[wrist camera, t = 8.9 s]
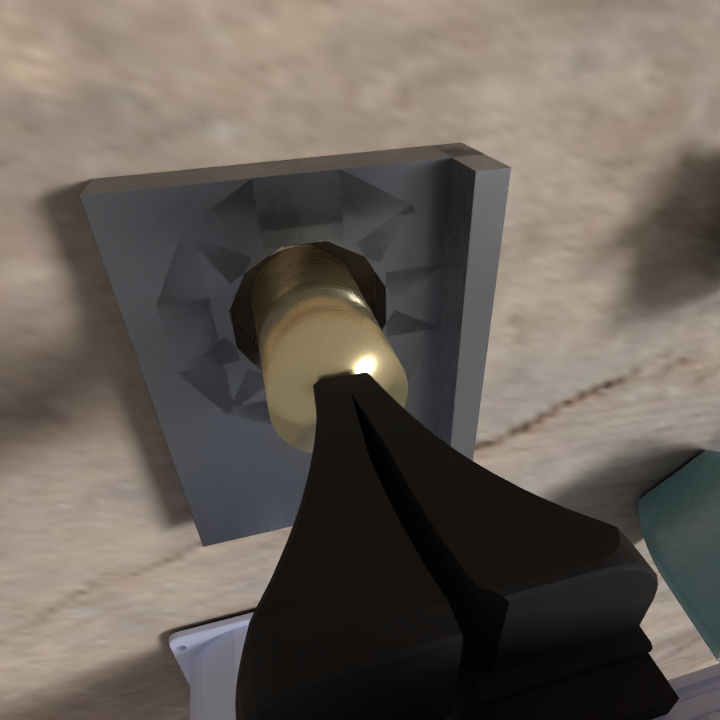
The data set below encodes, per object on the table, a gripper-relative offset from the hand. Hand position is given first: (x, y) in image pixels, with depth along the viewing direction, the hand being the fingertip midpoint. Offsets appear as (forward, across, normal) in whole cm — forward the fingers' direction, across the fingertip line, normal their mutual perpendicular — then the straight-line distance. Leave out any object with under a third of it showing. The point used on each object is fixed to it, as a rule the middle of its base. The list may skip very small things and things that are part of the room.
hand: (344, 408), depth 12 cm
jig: (+6, 0, +3) cm, 7 cm away
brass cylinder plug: (+6, 0, 0) cm, 6 cm away
